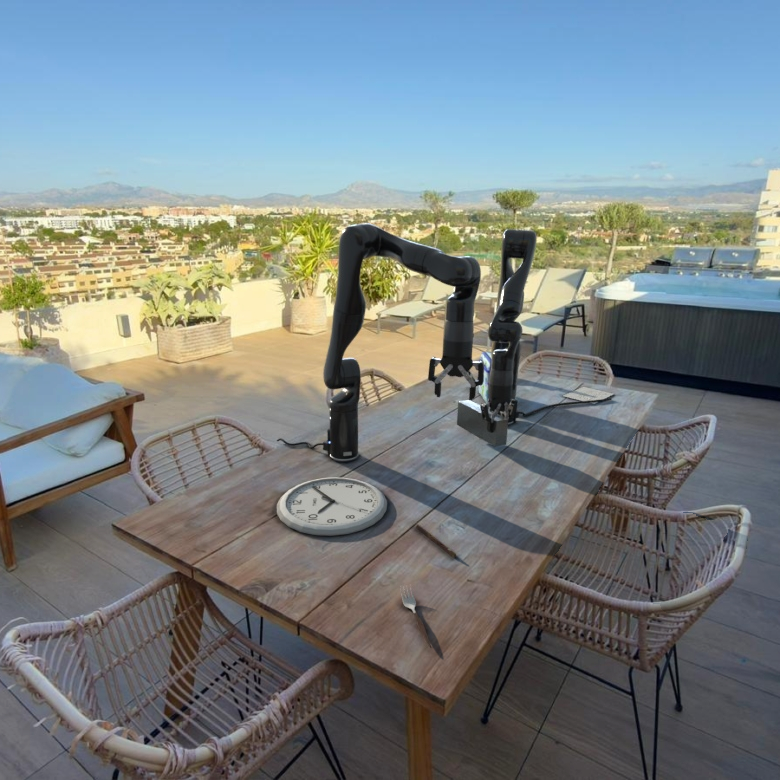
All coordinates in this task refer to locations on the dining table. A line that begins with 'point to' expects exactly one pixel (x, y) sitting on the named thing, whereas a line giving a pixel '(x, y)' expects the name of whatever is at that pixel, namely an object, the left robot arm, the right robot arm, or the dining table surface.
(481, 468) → the dining table surface
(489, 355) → the lunch box
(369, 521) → the wall clock
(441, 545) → the brown wooden stick
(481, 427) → the bar
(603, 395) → the invitation card
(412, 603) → the fork
